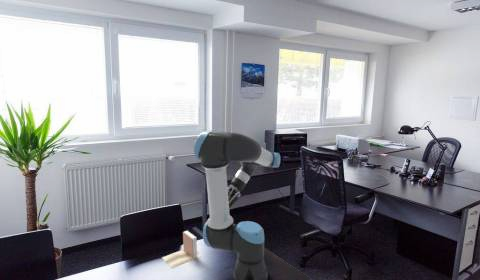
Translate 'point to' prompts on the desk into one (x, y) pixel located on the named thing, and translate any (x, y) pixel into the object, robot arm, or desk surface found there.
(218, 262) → the desk surface
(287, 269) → the desk surface
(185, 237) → the tile
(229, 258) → the desk surface
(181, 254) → the board
